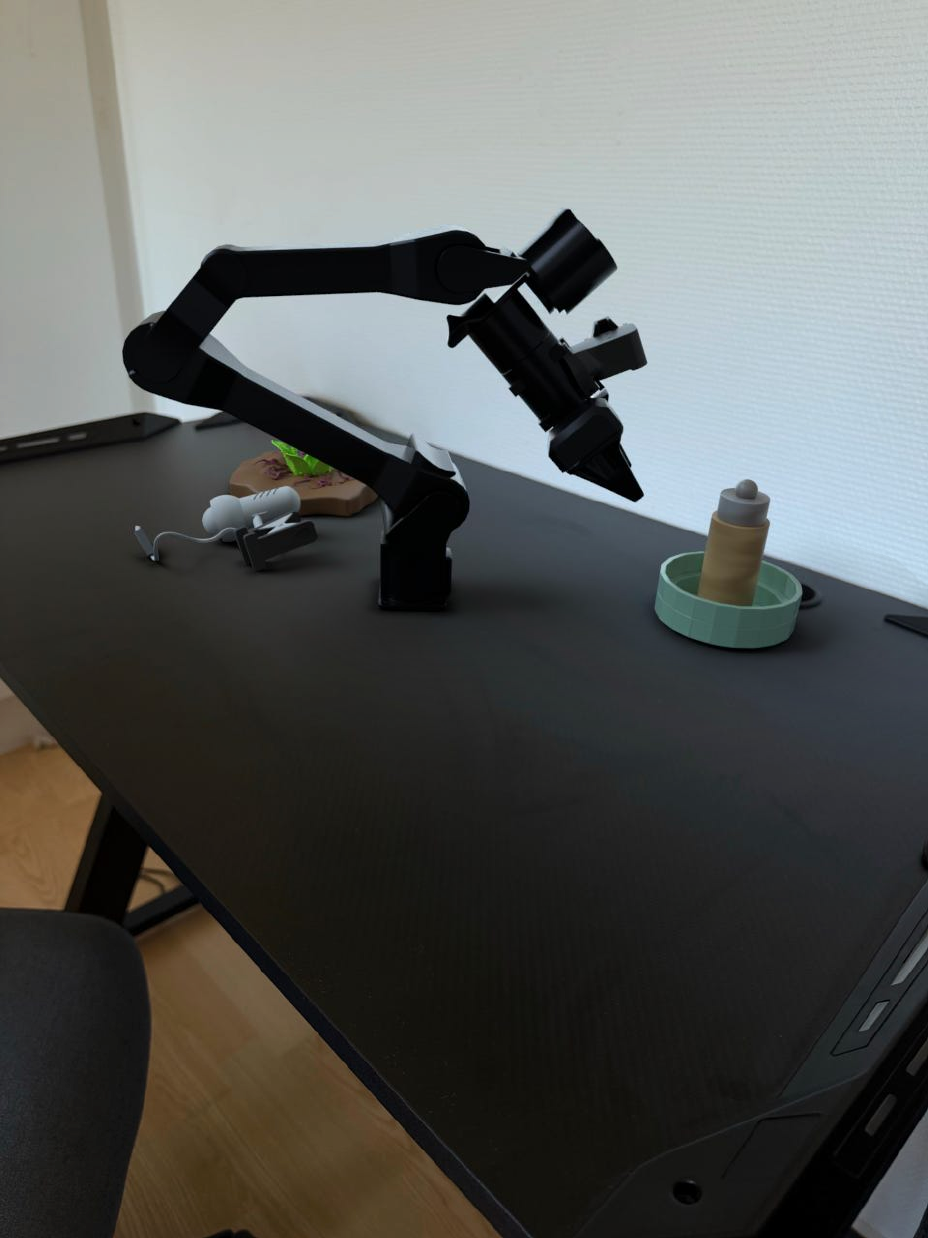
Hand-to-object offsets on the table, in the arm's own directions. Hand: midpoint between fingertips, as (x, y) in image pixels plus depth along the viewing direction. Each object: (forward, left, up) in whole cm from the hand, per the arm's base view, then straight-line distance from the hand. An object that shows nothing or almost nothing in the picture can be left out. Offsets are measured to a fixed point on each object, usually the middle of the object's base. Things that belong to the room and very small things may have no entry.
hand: (633, 483), depth 83 cm
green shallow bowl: (+10, -3, -13) cm, 16 cm away
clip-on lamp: (-40, +11, -13) cm, 44 cm away
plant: (-33, +32, -13) cm, 48 cm away
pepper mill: (+10, -3, -12) cm, 16 cm away
